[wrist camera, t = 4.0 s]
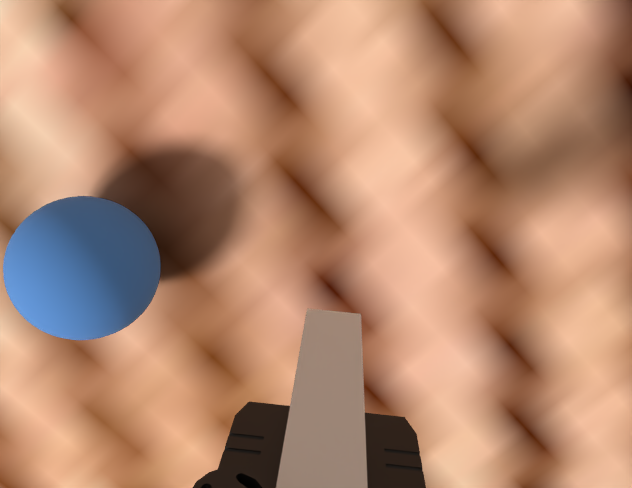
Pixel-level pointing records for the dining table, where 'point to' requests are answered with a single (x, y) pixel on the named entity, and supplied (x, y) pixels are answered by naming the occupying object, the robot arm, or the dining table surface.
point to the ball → (81, 268)
